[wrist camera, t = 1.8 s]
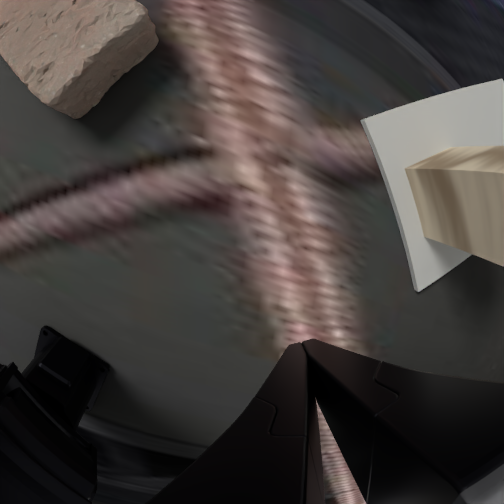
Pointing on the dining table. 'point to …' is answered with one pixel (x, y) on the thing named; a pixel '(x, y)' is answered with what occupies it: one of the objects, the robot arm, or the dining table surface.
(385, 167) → the mat
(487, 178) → the block
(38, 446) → the robot arm
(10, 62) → the brick
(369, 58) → the dining table surface
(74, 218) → the dining table surface
